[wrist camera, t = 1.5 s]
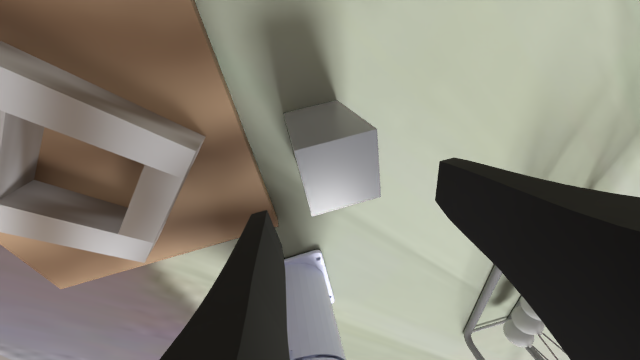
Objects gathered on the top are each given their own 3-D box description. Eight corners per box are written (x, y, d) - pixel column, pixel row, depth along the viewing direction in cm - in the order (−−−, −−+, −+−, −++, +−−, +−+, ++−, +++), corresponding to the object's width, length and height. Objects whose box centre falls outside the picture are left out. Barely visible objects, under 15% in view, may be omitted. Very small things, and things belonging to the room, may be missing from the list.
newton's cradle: (515, 213, 28) (807, 407, 13) (585, 197, 29) (922, 355, 14) (459, 336, 43) (563, 489, 28) (507, 322, 45) (629, 460, 30)
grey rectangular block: (343, 149, 19) (380, 196, 13) (296, 162, 18) (311, 216, 12) (336, 99, 17) (376, 129, 11) (283, 113, 16) (293, 150, 10)
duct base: (277, 218, 21) (280, 247, 18) (69, 278, 19) (34, 320, 16) (174, -52, 11) (142, -87, 8) (-249, 26, 10) (-469, 17, 7)
